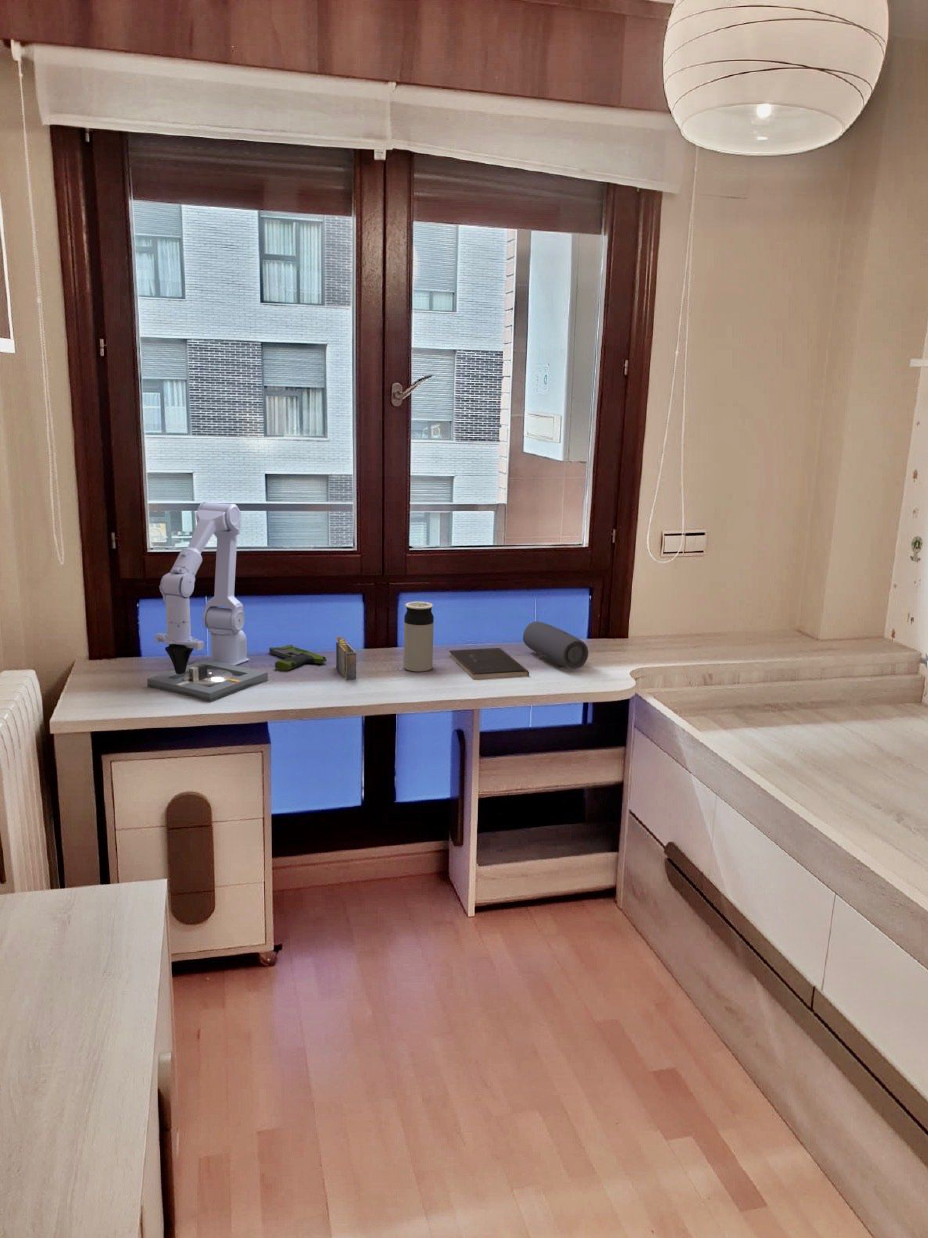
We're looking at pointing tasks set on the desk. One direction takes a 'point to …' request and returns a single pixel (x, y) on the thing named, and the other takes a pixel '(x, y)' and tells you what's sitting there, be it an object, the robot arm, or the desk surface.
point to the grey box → (345, 659)
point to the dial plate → (239, 682)
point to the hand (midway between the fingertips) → (180, 673)
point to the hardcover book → (488, 663)
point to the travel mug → (418, 636)
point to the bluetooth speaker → (555, 645)
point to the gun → (294, 657)
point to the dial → (207, 676)
